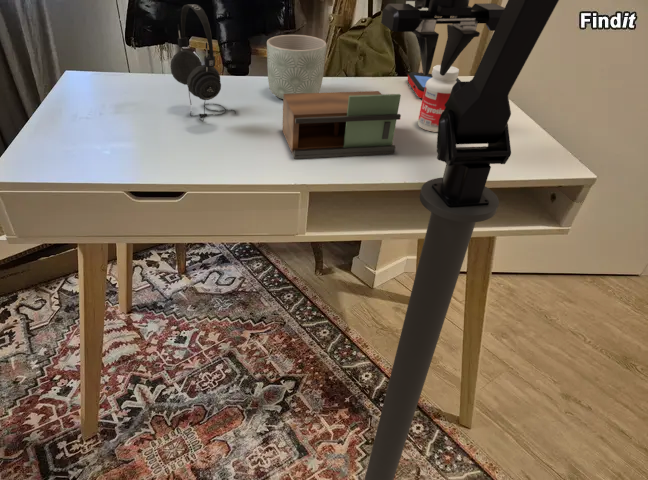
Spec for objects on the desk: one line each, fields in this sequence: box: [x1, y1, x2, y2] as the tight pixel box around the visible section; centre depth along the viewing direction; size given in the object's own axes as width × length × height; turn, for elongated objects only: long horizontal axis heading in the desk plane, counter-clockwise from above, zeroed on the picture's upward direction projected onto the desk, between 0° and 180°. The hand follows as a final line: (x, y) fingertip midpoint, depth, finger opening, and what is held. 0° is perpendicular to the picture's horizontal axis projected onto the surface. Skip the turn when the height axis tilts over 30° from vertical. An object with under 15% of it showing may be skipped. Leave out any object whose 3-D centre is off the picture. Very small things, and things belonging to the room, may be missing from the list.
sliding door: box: [343, 93, 402, 147], centre depth 85 cm, size 1×9×9 cm, turn 100°
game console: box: [407, 71, 462, 100], centre depth 114 cm, size 14×13×2 cm
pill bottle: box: [417, 64, 460, 133], centre depth 95 cm, size 6×6×11 cm
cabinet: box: [281, 90, 402, 160], centre depth 89 cm, size 12×18×7 cm, turn 100°
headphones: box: [170, 3, 237, 122], centre depth 92 cm, size 15×11×20 cm
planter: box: [266, 34, 327, 100], centre depth 107 cm, size 12×12×11 cm
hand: (433, 75), depth 82 cm, fingers open, 3 cm apart
